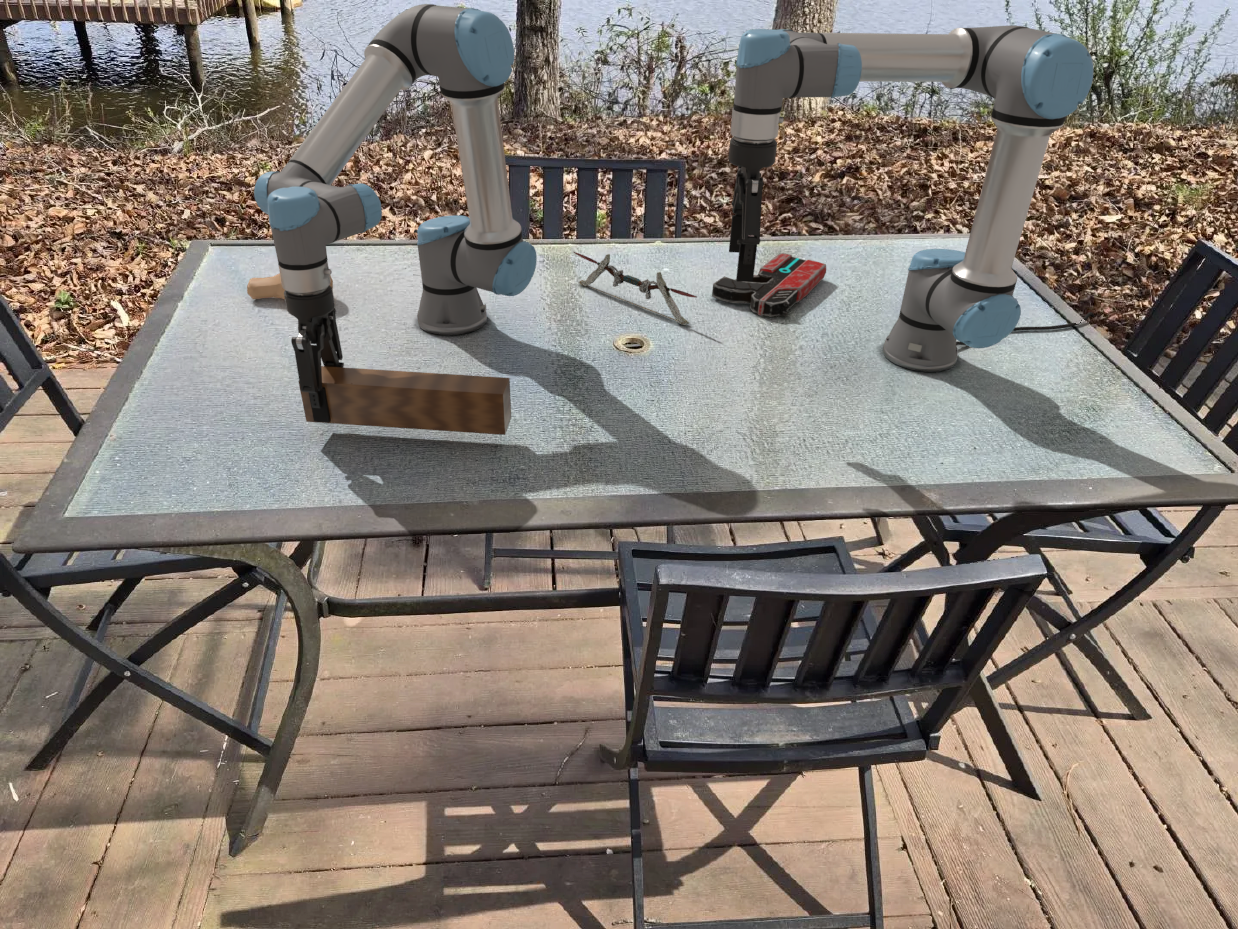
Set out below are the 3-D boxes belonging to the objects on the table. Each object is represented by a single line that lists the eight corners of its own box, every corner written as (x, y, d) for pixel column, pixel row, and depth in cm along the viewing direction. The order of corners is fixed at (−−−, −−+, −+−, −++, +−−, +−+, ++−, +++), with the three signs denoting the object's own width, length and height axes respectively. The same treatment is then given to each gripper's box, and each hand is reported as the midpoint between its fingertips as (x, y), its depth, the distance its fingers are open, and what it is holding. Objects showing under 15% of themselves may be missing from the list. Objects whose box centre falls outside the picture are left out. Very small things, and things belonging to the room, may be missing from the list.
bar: (306, 421, 152) (298, 381, 148) (318, 405, 157) (311, 365, 153) (505, 435, 151) (503, 394, 146) (511, 417, 156) (509, 377, 151)
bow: (697, 327, 197) (701, 285, 192) (692, 329, 196) (696, 287, 191) (576, 279, 219) (576, 241, 213) (571, 281, 218) (571, 242, 212)
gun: (708, 284, 207) (784, 305, 199) (760, 245, 229) (831, 262, 221) (706, 302, 209) (781, 323, 201) (758, 261, 231) (828, 278, 223)
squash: (332, 309, 201) (318, 275, 195) (248, 317, 202) (232, 283, 196) (343, 284, 209) (330, 250, 203) (262, 291, 210) (247, 258, 204)
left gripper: (308, 312, 134) (331, 441, 146) (350, 267, 149) (367, 387, 162) (260, 309, 134) (287, 438, 147) (307, 265, 150) (327, 384, 163)
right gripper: (789, 159, 129) (771, 294, 141) (767, 120, 150) (753, 241, 162) (738, 157, 129) (724, 293, 141) (723, 119, 150) (713, 240, 162)
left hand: (329, 411), depth 154 cm, fingers closed on bar, 6 cm apart
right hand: (740, 265), depth 151 cm, fingers open, 13 cm apart
